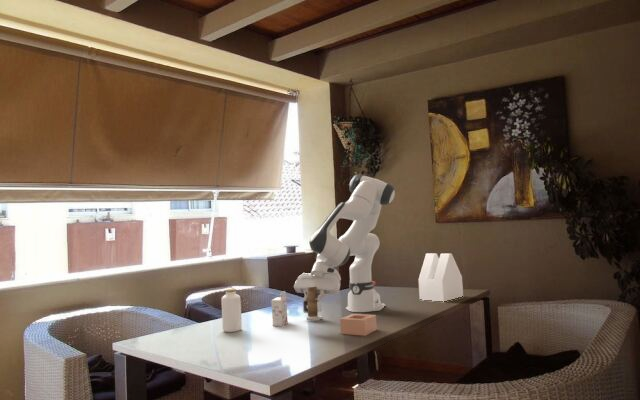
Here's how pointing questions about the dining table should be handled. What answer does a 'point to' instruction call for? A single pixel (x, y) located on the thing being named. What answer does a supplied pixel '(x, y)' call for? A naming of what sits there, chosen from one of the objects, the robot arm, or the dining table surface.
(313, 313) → the dowel
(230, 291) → the potion bottle
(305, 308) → the security camera
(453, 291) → the white notched block
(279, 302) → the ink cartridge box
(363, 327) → the socket block
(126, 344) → the dining table surface
